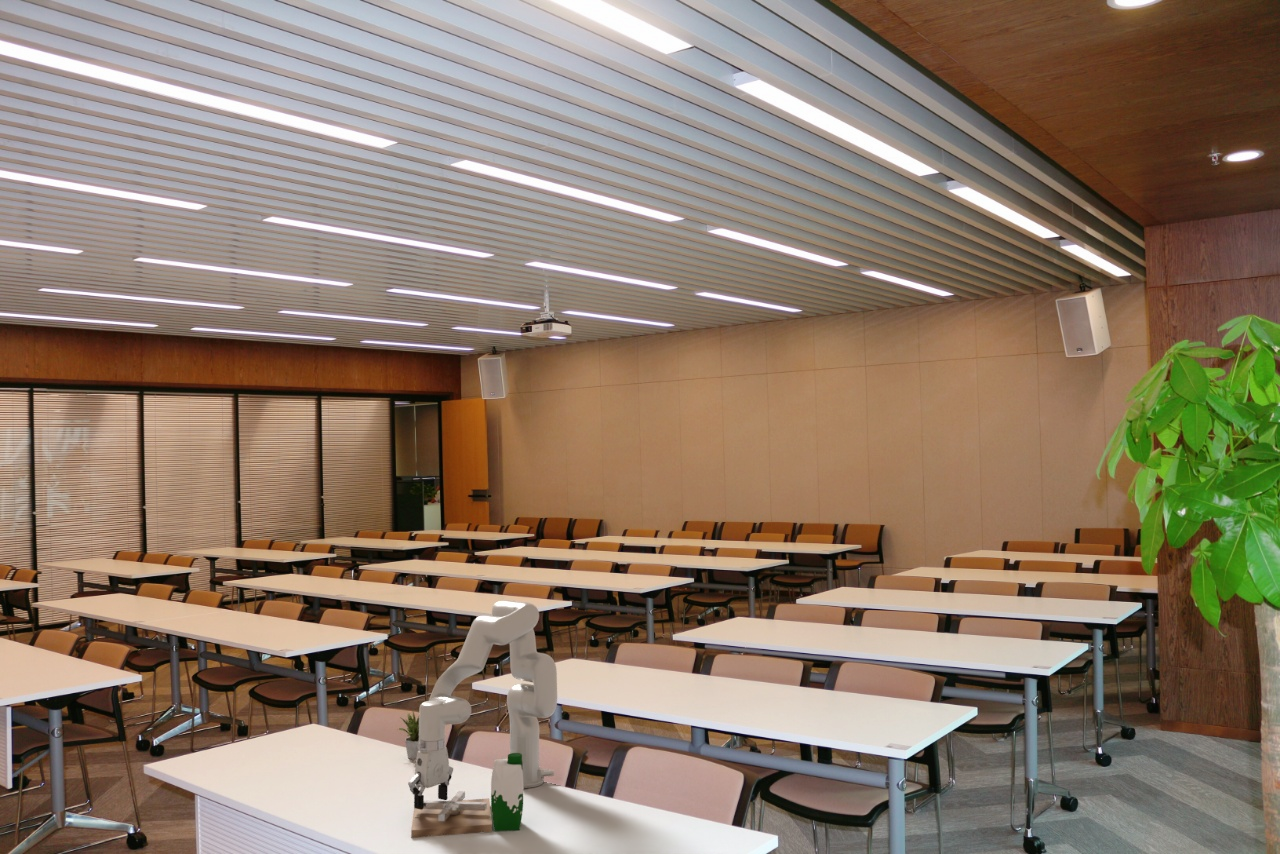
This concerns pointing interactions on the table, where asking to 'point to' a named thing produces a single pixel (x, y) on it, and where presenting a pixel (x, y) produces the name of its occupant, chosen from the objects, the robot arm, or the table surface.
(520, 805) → the milk carton
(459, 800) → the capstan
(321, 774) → the table surface
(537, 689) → the robot arm
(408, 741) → the house plant
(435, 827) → the stand plate
